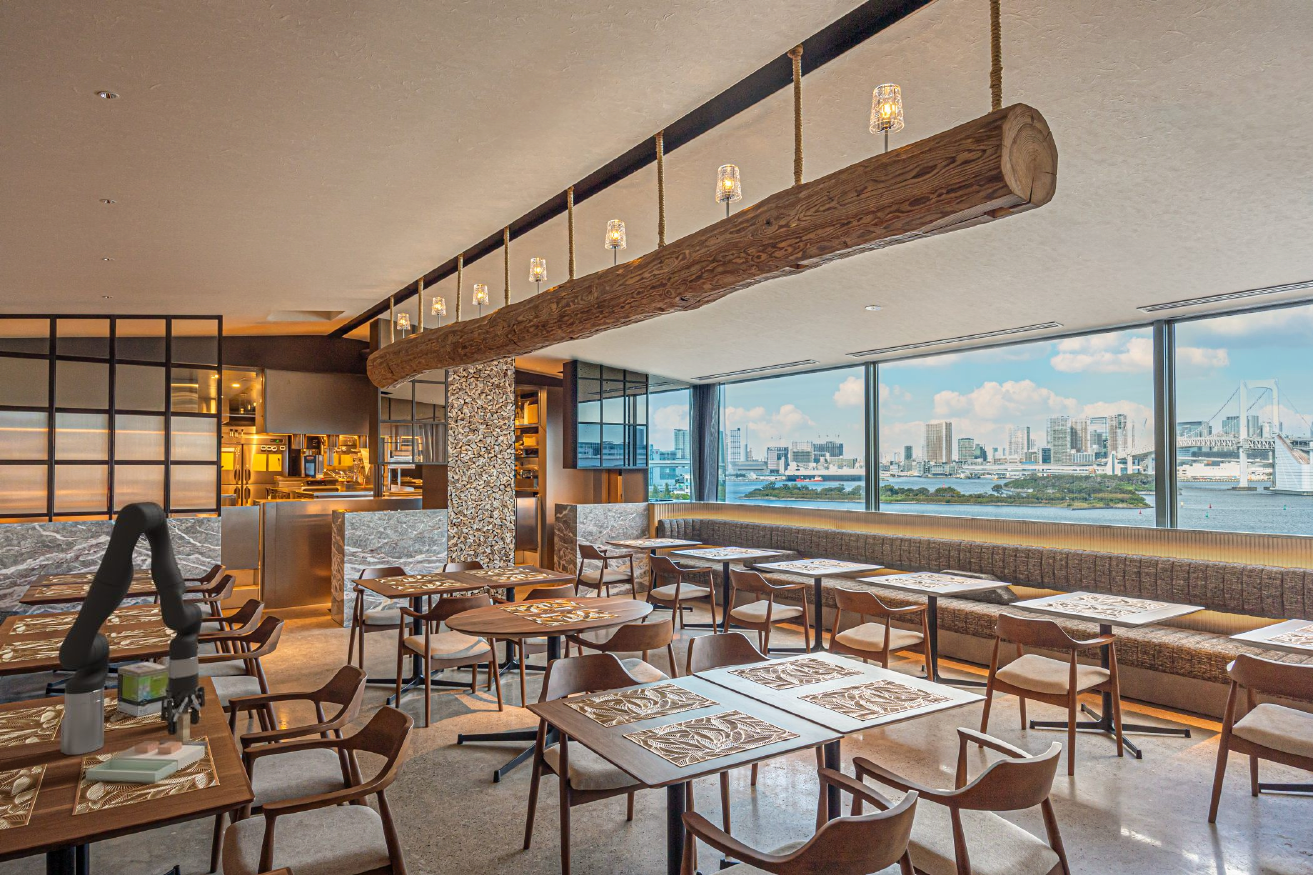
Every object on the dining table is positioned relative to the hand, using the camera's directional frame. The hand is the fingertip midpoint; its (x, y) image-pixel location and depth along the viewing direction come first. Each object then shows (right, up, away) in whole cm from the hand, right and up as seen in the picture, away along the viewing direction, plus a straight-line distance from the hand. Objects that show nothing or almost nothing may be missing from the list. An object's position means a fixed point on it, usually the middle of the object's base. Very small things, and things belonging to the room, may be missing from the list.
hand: (183, 728), depth 219 cm
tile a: (-4, -2, -9) cm, 10 cm away
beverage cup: (-15, -7, +21) cm, 26 cm away
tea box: (-37, -8, +37) cm, 53 cm away
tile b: (+2, -2, -10) cm, 11 cm away
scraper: (0, -6, 0) cm, 6 cm away
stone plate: (-1, -5, -10) cm, 12 cm away
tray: (-2, -5, -19) cm, 20 cm away
